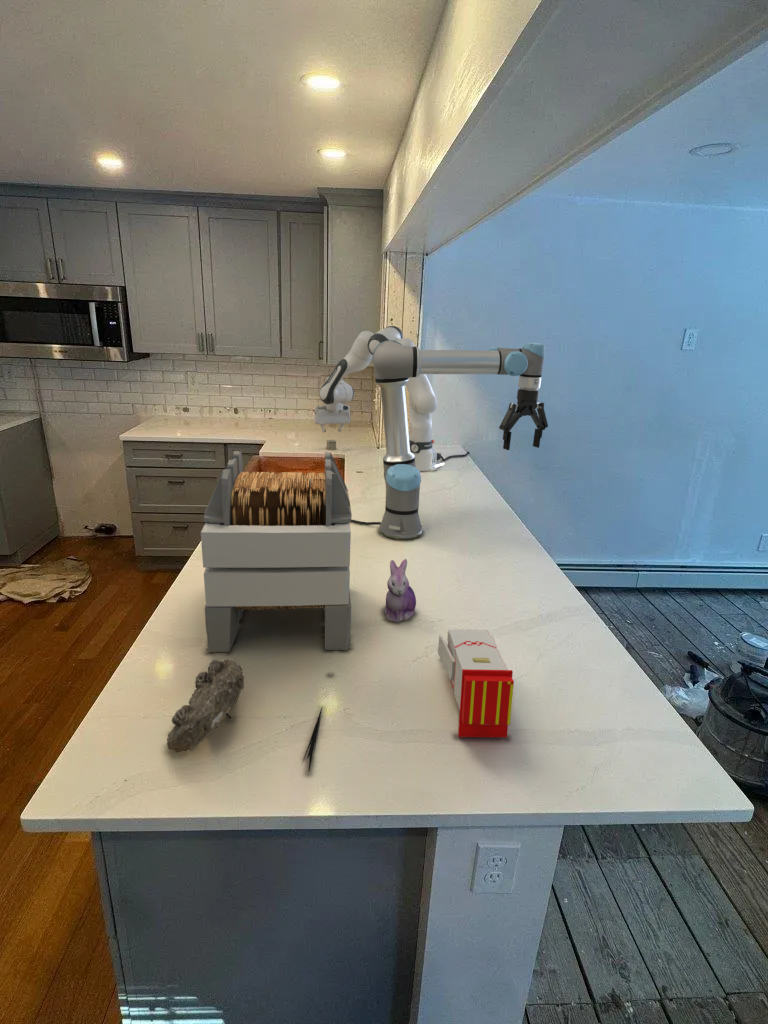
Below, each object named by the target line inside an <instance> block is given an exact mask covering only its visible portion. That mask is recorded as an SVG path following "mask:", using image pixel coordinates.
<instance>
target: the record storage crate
mask: <svg viewBox="0 0 768 1024" xmlns="http://www.w3.org/2000/svg"><path fill="white" fill-rule="evenodd" d="M337 465H338V464H337V463H336V461H335V459H334V457H333V454H332V452H330V451H324V472H317V473H316V472H307V473H306V472H305V473H304V472H301V471H300V472H299V471H298V472H297V471H296V472H294V471H293V472H292V471H291V472H290V471H289V472H288V471H282V472H278V473H277V472H274V471H261V472H259V471H251V472H250V471H244V469H243V468H244V467H243V466H244V465H243V453H242V451H237V450H234V451H233V453H232V454H231V457H230V458H229V459H228V462H227V464H226V466H225V468H224V469H223V470H222V471H221V474H220V476H219V479H218V481H217V483H216V485H215V487H214V490H213V492H212V494H211V497H210V498H209V502H208V503H207V506H206V508H205V510H204V514H203V521H204V522H205V523H204V525H203V527H202V529H201V531H200V541H201V556H202V568H205V570H204V571H203V582H204V596H205V599H204V600H205V605H204V621H205V633H206V640H207V641H206V642H207V648H206V651H207V653H215V652H217V653H218V652H219V653H220V652H221V653H222V652H223V653H224V652H226V653H227V652H230V651H231V649H232V646H233V644H234V642H235V638H236V637H237V634H238V632H239V629H240V624H239V623H240V622H239V621H240V620H242V617H243V613H244V611H245V610H252V611H254V610H255V611H256V610H293V609H294V610H296V609H297V610H299V609H300V610H301V609H303V610H306V609H307V610H310V609H312V610H313V609H324V611H323V612H324V614H323V616H324V617H323V618H324V650H325V651H326V650H332V651H333V650H334V651H335V650H342V651H347V650H349V649H350V648H351V631H352V626H351V625H352V603H351V591H350V580H351V579H350V578H351V576H350V575H351V570H350V566H351V543H352V542H351V538H352V537H351V536H352V535H351V534H352V531H351V525H350V523H351V522H350V521H351V520H352V516H353V515H352V509H351V508H352V507H351V501H350V496H349V495H350V494H349V489H348V486H347V485H346V483H345V480H344V478H343V476H342V474H341V471H340V470H339V467H338V466H337Z"/></svg>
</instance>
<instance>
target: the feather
mask: <svg viewBox="0 0 768 1024" xmlns="http://www.w3.org/2000/svg"><path fill="white" fill-rule="evenodd" d="M329 675H330V676H331V675H332V674H331V673H330V674H329ZM322 710H323V707H321V708H320V710H319V713H318V716H317V719H316V723H315V725H314V728H313V731H312V733H311V737H310V739H309V742H308V745H307V748H306V751H305V754H304V757H303V760H302V763H301V767H302V765H303V763H304V761H305V758H308V759H309V760H308V762H307V763H308V764H307V766H308V771H310V770H311V766H312V765H311V764H312V760H313V757H315V756H314V755H315V751H316V749H315V746H317V739H318V733H319V729H320V722H321V717H322V712H323V711H322ZM313 754H314V755H313ZM306 755H307V757H306Z"/></svg>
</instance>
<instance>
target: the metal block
mask: <svg viewBox="0 0 768 1024" xmlns="http://www.w3.org/2000/svg"><path fill="white" fill-rule="evenodd" d="M326 449H327V450H329V451H334V450H337V440H335V439H326Z"/></svg>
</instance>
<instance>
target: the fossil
mask: <svg viewBox="0 0 768 1024" xmlns="http://www.w3.org/2000/svg"><path fill="white" fill-rule="evenodd" d="M243 670H244V669H243V667H242V665H240V664H237V662H236V661H235V660H234V659H232V658H231V659H227V658H226V659H224V660H223V661H222V660H217V659H212V660H211V661H210V663H209V665H208V666H207V671H201V672H199V673H198V674H197V675H196V676H195V680H194V684H195V685H194V687H195V689H194V690H193V693H192V694H191V697H190V698H189V700H188V704H184V705H182V706H181V707H180V709H177V710H176V711H175V713H174V715H173V716H172V718H171V723H172V724H173V727H172V730H171V731H170V732H168V734H167V738H166V741H167V742H166V745H167V749H168V750H169V751H173V752H174V753H176V754H178V753H182V752H188V751H189V752H192V751H193V750H195V748H196V747H197V746H199V744H200V743H201V742H203V741H204V740H205V739H206V738H207V737H208V736H209V735H210V734H211V733H212V732H214V730H215V729H217V727H218V726H219V724H220V722H221V721H222V720H223V719H224V718H225V716H226V717H227V719H229V720H233V717H232V715H230V714H229V710H230V709H231V708H234V706H235V704H236V703H237V702H238V699H239V697H240V695H241V693H242V691H243V690H245V689H244V688H245V675H244V671H243Z"/></svg>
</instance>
